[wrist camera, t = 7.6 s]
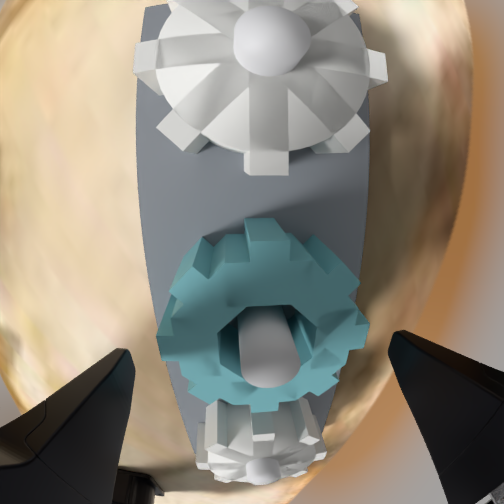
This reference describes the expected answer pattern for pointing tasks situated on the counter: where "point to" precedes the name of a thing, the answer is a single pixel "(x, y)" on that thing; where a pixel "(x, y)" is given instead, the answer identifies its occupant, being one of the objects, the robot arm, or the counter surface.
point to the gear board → (253, 185)
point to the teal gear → (260, 294)
